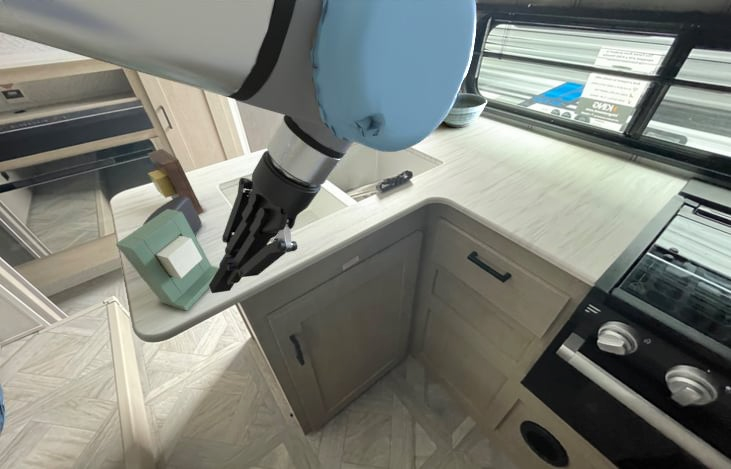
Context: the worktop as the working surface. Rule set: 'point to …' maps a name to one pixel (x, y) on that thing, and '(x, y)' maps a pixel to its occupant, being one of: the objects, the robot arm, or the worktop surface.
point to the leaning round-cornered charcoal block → (183, 206)
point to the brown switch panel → (174, 176)
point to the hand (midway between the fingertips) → (219, 287)
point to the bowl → (465, 109)
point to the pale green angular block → (142, 258)
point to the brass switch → (162, 183)
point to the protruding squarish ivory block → (179, 256)
